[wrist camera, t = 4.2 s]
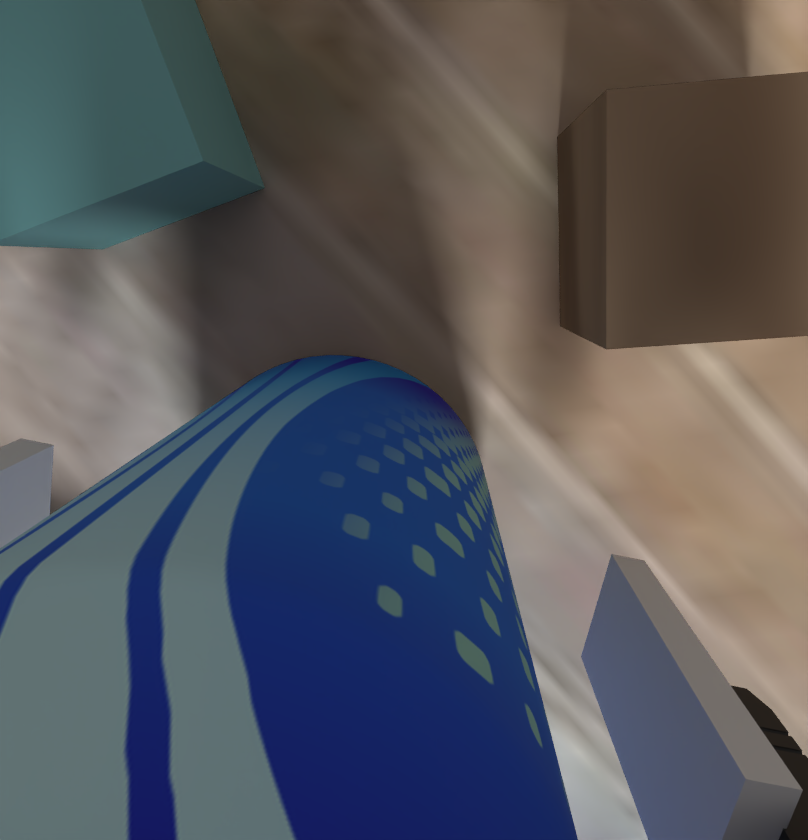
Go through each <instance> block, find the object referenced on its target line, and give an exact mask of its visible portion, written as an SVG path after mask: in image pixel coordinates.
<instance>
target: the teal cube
mask: <svg viewBox="0 0 808 840" xmlns="http://www.w3.org/2000/svg"><path fill="white" fill-rule="evenodd" d="M263 188H265V187H264V184H263V182H262V179H261V176H260V174H259V171H258V168H257V166H256V163H255V160H254V157H253V155H252V152H251V149H250V147H249V144H248V141H247V139H246V136H245V133H244V131H243V128H242V125H241V123H240V120H239V117H238V114H237V112H236V109H235V106H234V104H233V101H232V98H231V96H230V93H229V90H228V88H227V85H226V82H225V80H224V77H223V74H222V72H221V69H220V66H219V63H218V61H217V58H216V55H215V53H214V50H213V47H212V45H211V42H210V39H209V37H208V34H207V31H206V29H205V26H204V23H203V20H202V18H201V15H200V12H199V10H198V7H197V4H196V2H195V0H0V246H24V247H52V248H79V249H105V248H107V247H110V246H113V245H115V244H118V243H121V242H123V241H126V240H129V239H131V238H134V237H137V236H139V235H142V234H144V233H147V232H150V231H152V230H155V229H158V228H160V227H163V226H166V225H168V224H171V223H174V222H176V221H179V220H181V219H184V218H187V217H189V216H192V215H195V214H197V213H200V212H203V211H205V210H208V209H211V208H213V207H216V206H218V205H221V204H224V203H226V202H229V201H232V200H234V199H237V198H240V197H242V196H245V195H248V194H250V193H253V192H255V191H258V190H261V189H263Z"/></svg>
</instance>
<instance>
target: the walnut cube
mask: <svg viewBox="0 0 808 840" xmlns="http://www.w3.org/2000/svg"><path fill="white" fill-rule="evenodd" d="M557 153H558V215H559V277H560V326H561V327H563V328H565V329H567V330H569V331H571V332H573V333H575V334H577V335H579V336H581V337H583V338H585V339H587V340H589V341H591V342H593V343H595V344H597V345H599V346H601V347H603V348H605V349H618V348H633V347H648V346H663V345H678V344H693V343H708V342H722V341H737V340H752V339H767V338H782V337H797V336H808V72H799V73H788V74H777V75H765V76H754V77H743V78H732V79H720V80H709V81H698V82H687V83H675V84H664V85H653V86H642V87H630V88H619V89H608V90H606V91H605V92H604V93H603V94H601V95H600V96H599V97H598V98H597V99H596V100H595V101H594V102H593V103H592V104H591V105H590V106H589V107H588V108H587V109H586V110H585V111H584V112H583V113H582V114H581V115H580V116H579V117H578V118H577V119H576V120H575V121H574V122H573V123H572V124H570V125H569V126H568V127H567V128H566V129H565V130H564V131H563V132H562V133H561V134H560V135H559V136H558V137H557Z"/></svg>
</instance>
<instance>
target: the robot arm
mask: <svg viewBox="0 0 808 840" xmlns="http://www.w3.org/2000/svg"><path fill="white" fill-rule="evenodd" d="M53 447H54V445H51V444H46V443H41V442H36V441H31V440H26V439H19V440H17V441H14V442H12V443H10V444H7V445H5V446H3V447H1V448H0V548H1V547H3V546H4V545H6V544H7V543H9V542H10V541H12V540H13V539H15V538H16V537H18V536H19V535H21V534H22V533H24V532H25V531H27V530H28V529H30V528H31V527H33V526H34V525H36V524H37V523H39V522H40V521H42V520H43V519H45V518H46V517H48V516H49V515H50V501H51V483H52V465H53ZM581 657H582V660H583V663H584V666H585V668H586V671H587V674H588V676H589V679H590V682H591V685H592V687H593V690H594V693H595V696H596V698H597V701H598V704H599V706H600V709H601V712H602V715H603V717H604V720H605V723H606V725H607V728H608V731H609V734H610V736H611V739H612V742H613V745H614V747H615V750H616V753H617V755H618V758H619V761H620V764H621V766H622V769H623V772H624V774H625V777H626V780H627V783H628V785H629V788H630V791H631V794H632V796H633V799H634V802H635V804H636V807H637V810H638V813H639V815H640V818H641V821H642V824H643V826H644V829H645V832H646V834H647V837H648V840H808V758H807V757H806V755H802V750H801V749H800V747H799V746H798V745H797V743H796V742H795V741H794V739H793V738H792V737H791V736H788V731H787V730H786V728H785V727H784V726H783V724H782V723H781V722H780V720H779V719H778V718H777V716H776V715H775V714H774V712H773V711H772V710H771V709H770V708H769V707H768V706H766V705H765V704H764V703H763V702H762V701H761V700H759V699H758V698H757V697H756V696H755V695H753V694H752V693H751V692H750V691H749V690H747V689H745V688H740V687H735V686H731V685H730V684H729V683H728V681H727V680H726V678H725V677H724V675H723V674H722V672H721V671H720V670H719V668H718V667H717V665H716V664H715V662H714V661H713V659H712V658H711V656H710V655H709V654H708V652H707V651H706V649H705V648H704V646H703V645H702V643H701V642H700V641H699V639H698V638H697V636H696V635H695V633H694V632H693V630H692V629H691V628H690V626H689V625H688V623H687V622H686V620H685V619H684V617H683V616H682V615H681V613H680V612H679V610H678V609H677V607H676V606H675V604H674V603H673V601H672V600H671V599H670V597H669V596H668V594H667V593H666V591H665V590H664V588H663V587H662V586H661V584H660V583H659V581H658V580H657V578H656V577H655V575H654V574H653V573H652V571H651V570H650V568H649V567H648V565H647V564H646V562H645V561H644V560H639V559H634V558H629V557H624V556H619V555H614V554H612V555H611V558H610V561H609V565H608V568H607V572H606V575H605V578H604V582H603V585H602V588H601V592H600V595H599V599H598V602H597V605H596V609H595V612H594V615H593V619H592V622H591V625H590V629H589V632H588V636H587V639H586V642H585V646H584V649H583V652H582V656H581Z"/></svg>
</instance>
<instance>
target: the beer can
mask: <svg viewBox="0 0 808 840" xmlns="http://www.w3.org/2000/svg"><path fill="white" fill-rule="evenodd" d="M0 840H578V839H577V835H576V831H575V827H574V823H573V819H572V815H571V811H570V807H569V803H568V799H567V795H566V791H565V788H564V784H563V780H562V776H561V772H560V768H559V764H558V760H557V756H556V752H555V748H554V744H553V741H552V737H551V733H550V729H549V725H548V721H547V717H546V713H545V709H544V705H543V701H542V697H541V693H540V690H539V686H538V682H537V678H536V674H535V670H534V666H533V662H532V658H531V654H530V650H529V646H528V642H527V639H526V635H525V631H524V627H523V623H522V619H521V615H520V611H519V607H518V603H517V599H516V595H515V592H514V588H513V584H512V580H511V576H510V572H509V568H508V564H507V560H506V556H505V552H504V548H503V544H502V541H501V537H500V533H499V529H498V525H497V521H496V517H495V513H494V509H493V505H492V501H491V497H490V493H489V490H488V486H487V482H486V478H485V474H484V470H483V466H482V463H481V460H480V456H479V454H478V451H477V449H476V446H475V444H474V442H473V440H472V438H471V436H470V434H469V432H468V430H467V429H466V427H465V426H464V424H463V423H462V421H461V420H460V418H459V417H458V416H457V414H456V413H455V412H454V411H453V410H452V408H451V407H450V406H449V405H448V404H447V403H446V402H445V401H444V400H443V399H442V398H441V397H440V396H439V395H438V394H437V393H435V392H434V391H433V390H432V389H430V388H429V387H428V386H427V385H425V384H424V383H422V382H421V381H419V380H418V379H416V378H415V377H413V376H411V375H409V374H407V373H405V372H403V371H402V370H399V369H397V368H394V367H392V366H390V365H387V364H384V363H381V362H377V361H374V360H370V359H365V358H360V357H353V356H343V355H324V356H314V357H308V358H302V359H297V360H294V361H291V362H287V363H284V364H281V365H279V366H276V367H274V368H272V369H269V370H267V371H265V372H264V373H262V374H260V375H258V376H256V377H255V378H253V379H252V380H250V381H249V382H247V383H246V384H244V385H243V386H241V387H240V388H238V389H237V390H235V391H234V392H232V393H231V394H229V395H228V396H226V397H225V398H223V399H222V400H220V401H219V402H217V403H216V404H214V405H213V406H211V407H210V408H208V409H207V410H205V411H204V412H202V413H201V414H200V415H198V416H197V417H195V418H194V419H192V420H191V421H189V422H188V423H186V424H185V425H183V426H182V427H180V428H179V429H177V430H176V431H174V432H173V433H171V434H170V435H168V436H167V437H165V438H164V439H162V440H161V441H159V442H158V443H156V444H155V445H153V446H152V447H150V448H149V449H147V450H146V451H144V452H143V453H141V454H140V455H138V456H137V457H135V458H134V459H132V460H131V461H130V462H128V463H127V464H125V465H124V466H122V467H121V468H119V469H118V470H116V471H115V472H113V473H112V474H110V475H109V476H107V477H106V478H104V479H103V480H101V481H100V482H98V483H97V484H95V485H94V486H92V487H91V488H89V489H88V490H86V491H85V492H83V493H82V494H80V495H79V496H77V497H76V498H74V499H73V500H71V501H70V502H68V503H67V504H65V505H64V506H62V507H61V508H60V509H58V510H57V511H55V512H54V513H52V514H51V515H49V516H48V517H46V518H45V519H43V520H42V521H40V522H39V523H37V524H36V525H34V526H33V527H31V528H30V529H28V530H27V531H25V532H24V533H22V534H21V535H19V536H18V537H16V538H15V539H13V540H12V541H10V542H9V543H7V544H6V545H4V546H3V547H1V548H0Z"/></svg>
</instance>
